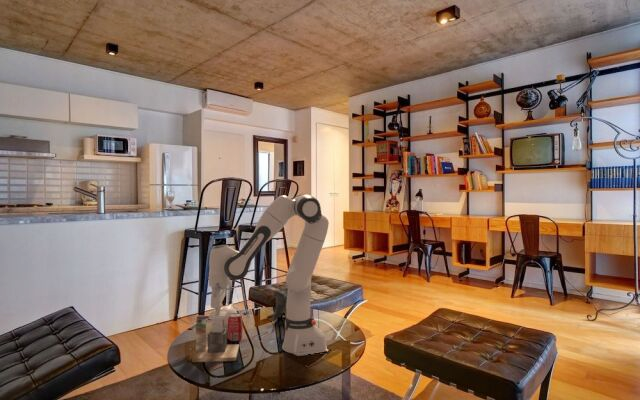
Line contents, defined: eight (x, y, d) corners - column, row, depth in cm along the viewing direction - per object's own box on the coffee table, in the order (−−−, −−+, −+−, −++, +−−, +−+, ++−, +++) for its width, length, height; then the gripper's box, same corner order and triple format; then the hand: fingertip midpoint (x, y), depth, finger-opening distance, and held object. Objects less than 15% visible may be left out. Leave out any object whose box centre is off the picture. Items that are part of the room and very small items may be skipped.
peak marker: (201, 322, 160) (201, 320, 160) (201, 322, 159) (201, 320, 159) (198, 322, 159) (198, 320, 159) (197, 323, 159) (197, 320, 159)
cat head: (224, 336, 182) (224, 312, 182) (206, 331, 189) (206, 307, 189) (245, 327, 194) (245, 305, 194) (227, 323, 201) (228, 300, 201)
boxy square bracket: (226, 331, 167) (227, 310, 167) (224, 337, 160) (225, 315, 160) (199, 332, 165) (200, 311, 165) (196, 338, 158) (197, 316, 158)
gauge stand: (239, 347, 169) (239, 310, 169) (235, 360, 155) (236, 320, 155) (198, 348, 167) (199, 311, 167) (191, 362, 153) (192, 321, 153)
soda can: (237, 335, 183) (237, 311, 183) (245, 339, 178) (245, 315, 178) (224, 339, 178) (225, 314, 178) (232, 343, 173) (232, 318, 173)
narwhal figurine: (297, 319, 210) (298, 288, 210) (272, 323, 202) (273, 291, 202) (286, 312, 222) (287, 283, 222) (263, 316, 214) (263, 285, 214)
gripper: (222, 286, 153) (222, 319, 153) (229, 276, 173) (228, 305, 173) (207, 286, 152) (206, 320, 152) (215, 276, 172) (214, 305, 172)
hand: (218, 312), depth 163 cm, fingers closed
